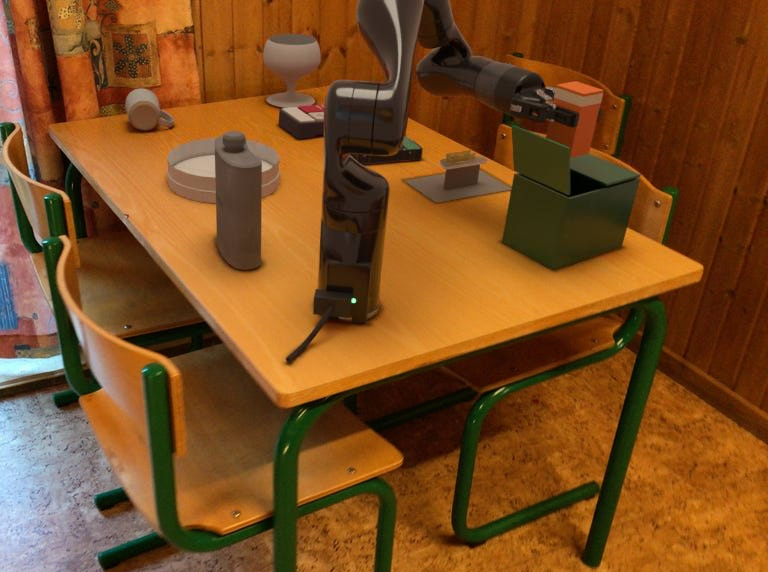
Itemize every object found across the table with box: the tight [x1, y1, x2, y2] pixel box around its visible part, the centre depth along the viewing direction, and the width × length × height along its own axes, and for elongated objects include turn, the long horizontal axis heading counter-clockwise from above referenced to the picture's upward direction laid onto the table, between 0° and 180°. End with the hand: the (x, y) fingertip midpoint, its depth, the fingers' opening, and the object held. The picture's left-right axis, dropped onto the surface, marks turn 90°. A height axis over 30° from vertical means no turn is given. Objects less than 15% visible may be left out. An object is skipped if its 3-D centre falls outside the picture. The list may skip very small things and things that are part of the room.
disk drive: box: [350, 133, 424, 165], centre depth 180 cm, size 10×3×15 cm
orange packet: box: [545, 80, 604, 158], centre depth 132 cm, size 4×6×10 cm
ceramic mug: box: [124, 87, 175, 132], centre depth 190 cm, size 11×8×8 cm
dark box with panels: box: [278, 104, 325, 140], centre depth 193 cm, size 11×4×15 cm
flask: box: [215, 130, 263, 271], centre depth 136 cm, size 15×6×20 cm, turn 15°
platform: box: [403, 149, 512, 204], centre depth 166 cm, size 12×18×7 cm, turn 115°
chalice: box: [262, 33, 322, 108], centre depth 206 cm, size 14×14×15 cm
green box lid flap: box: [510, 124, 570, 195], centre depth 132 cm, size 8×12×1 cm
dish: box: [166, 137, 281, 204], centre depth 165 cm, size 22×22×5 cm
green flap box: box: [501, 153, 642, 271], centre depth 142 cm, size 17×12×13 cm
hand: (588, 118), depth 129 cm, fingers closed on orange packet, 4 cm apart
